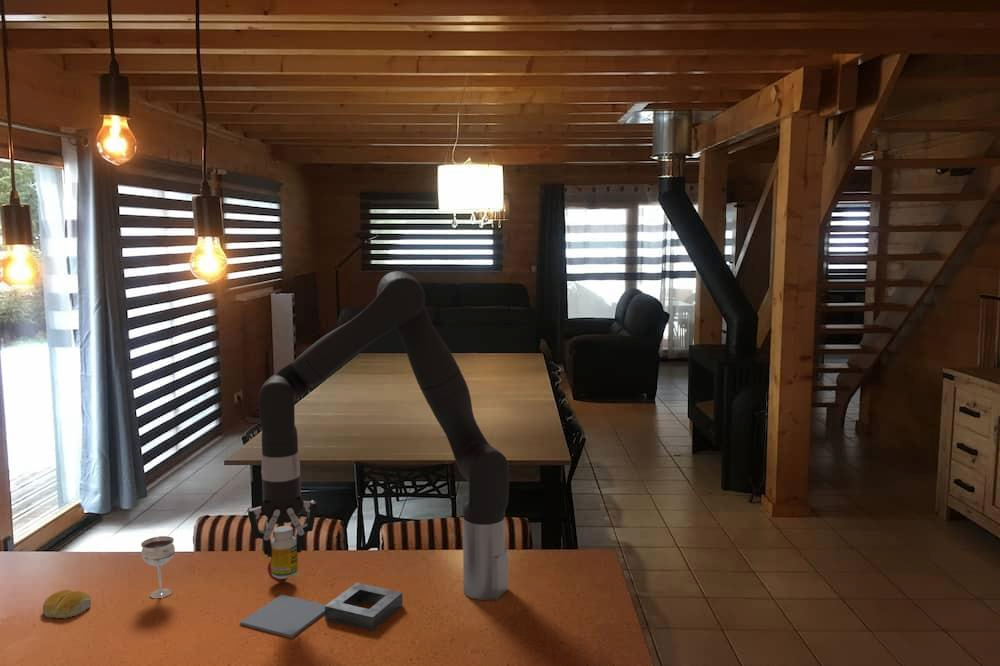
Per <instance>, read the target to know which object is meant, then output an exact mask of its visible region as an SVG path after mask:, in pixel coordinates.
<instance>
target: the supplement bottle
mask: <svg viewBox="0 0 1000 666" xmlns="http://www.w3.org/2000/svg"><path fill="white" fill-rule="evenodd" d="M272 532H273V533H272V537H273V538H272V539H271V557H270V560H271V573H272V575H273V576H274V577H275V578H279V579H284V578H288V579H289V578H292V577H294V576H296V575H297V573H298V571H299V562H298V561H299V557H298V552H297V540H296V536H294V528H293V526H291V525H289V526H288V525H283V526H282V525H281V526H277V527H274V529H273V531H272Z"/></svg>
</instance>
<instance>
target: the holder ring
mask: <svg viewBox="0 0 1000 666" xmlns="http://www.w3.org/2000/svg"><path fill="white" fill-rule="evenodd" d="M360 602H361V603H360ZM364 603H365V604H364ZM359 604H364V605H370V606H371V607H370V608H366V607H360V606H358V605H359ZM324 605H325V613H324V614H325V615H324V616H325V617H324V618H325V619H324V620H325V621H329V622H335V623H337V624H342V625H346V626H348V627H349V626H350V627H353V626H354V627H355V628H358V629H362V630H366V629H367V630H366V631H370V630H371V631H370V632H374V631H375V630H376V629H377V628H378V627H379V626H381V625H382V624H383V623H384V622H385V621H387V620H388V619H389V618H391V616H392V615H394V614H395V613H396V612H397V611H398V610H399V609H400V608H402V607H403V592H401V591H397V590H393V589H388V588H383V587H381V586H380V587H379V586H374V585H371V584H370V585H369V584H366V583H365V584H364V583H361V582H355V583H354V584H353V585H351V586H350V587H349V588H347V589H346V590H345V591H343V592H341V593H340V594H339V595H338V596H336V597H335V598H334V599H332V600H331V601H330V602H328V603H327V604H324ZM394 612H395V613H394ZM387 618H388V619H387ZM386 619H387V620H386Z"/></svg>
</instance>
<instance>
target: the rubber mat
mask: <svg viewBox="0 0 1000 666" xmlns="http://www.w3.org/2000/svg"><path fill="white" fill-rule="evenodd" d="M325 605H326V604H323V603H319V602H315V601H311V600H306V599H303V598H299V597H298V598H297V597H293V596H290V595H285V594H280V595H278V596H277V597H276V598H274V599H273V600H270V601H269V602H268V603H266V604H265V605H263V606H262V607H261V608H258V610H256V611H255V612H253V613H251V614H250V615H248V616H247V617H245V618H244V619H242V620H241V621H239V625H240V626H244V627H247V628H251V629H256V630H259V631H262V632H266V633H270V634H274V635H278V636H283V637H285V638H289V639H293V638H294V637H295V636H297V635H298V634H299V633H301V632H302V631H303V630H305V629H306V628H307V627H309V626H310V625H311V624H313V623H314V622H316V621H317V620H318V619H319V618H321V617H322V616H323V615H324V614H325Z"/></svg>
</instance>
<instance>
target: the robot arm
mask: <svg viewBox="0 0 1000 666" xmlns="http://www.w3.org/2000/svg"><path fill="white" fill-rule="evenodd" d="M425 301H426V295H425V291H424V288H423V286H422V285H421V283H419V281H418V279H416V278H415V277H414V276H413V275H411V274H409V273H408V272H405V271H399V270H398V271H391V272H389V273H387V274H385V275H384V276H383V277H382V278H381V280H379V283H378V285H377V289H376V297H375V298H374V299H373V300H372V301H371V302H370V303H369V304H368V305H367V306H366V308H364V309H363V310H362V311H360V313H358V314H357V315H356V316H354V317H353V318H352V319H350V320H348V321H347V322H345V323H344V324H342V325H340V326H338V327H336V328H335V329H333V330H332V331H330V332H328V333H326V334H325V335H324V336H322V337H320V339H318V340H317V341H315V342H314V343H313V344H311V345H310V346H309V347H307V348H306V349H305V350H304V351H303V352H302V353H300V354H299V355H298V356H297V357H296V358H295V359H294V360H292V361H291V362H290V363H289V364H287V365H285V366H284V367H283V368H281V369H280V370H278V371H276V372H275V373H274V374H273V375H271V376H270V377H269V378H268V379H267V380H266V381H265V382H264V383H263V384H262V386H261V387H260V389H259V391H258V396H257V409H258V416H259V421H260V427H261V457H262V458H261V471H260V474H261V483H262V484H261V485H262V486H261V488H262V502H261V504H260V506H257V507H251V506H250V507H248V508H247V516H248V520H249V522H250V527H251V530H252V534H253V537H254V539H256V540H257V539H261V540H262V550H263V553H264V555H265V556H266V555H267V556H266V557H267V558H271V541H272V539H271V535H272V534H273V533H272V532H273V530H274V529H275V528H276V527H275V526H276V525H280V524H283V523H286V524H290V523H292V524H293V526H294V528H295V530H296V532H295V538H296V540H297V554H300V553H302V550H304V548H305V534H306V533H307V532H312V531H313V530H314V525H315V520H316V514H317V508H318V505H317V502H316V501H315V500H314V499H311V500H304V499H303V498H302V489H301V488H302V485H301V484H302V483H301V462H300V457H299V443H298V437H299V436H298V429H297V427H296V426H295V425H296V424H295V405H296V404H295V403H296V401H297V400H298V399H299V398H300V397H302V396H303V395H304V394H305V393H306V392H308V391H309V390H310V389H312V387H316V386H318V385H320V384H321V383H323V382H324V381H325V380H326V379H327V378H329V377H331V375H333V374H334V373H335V372H337V371H338V370H339V369H340V368H341V367H343V366H344V365H345V364H346V363H347V362H349V361H350V360H351V359H352V358H354V357H355V356H356V355H358V354H359V353H360V352H362V351H363V350H364V349H366V347H368V346H369V345H370V344H372V343H373V342H375V341H376V340H378V339H379V338H381V337H383V336H384V335H386V334H387V333H389V332H391V331H392V330H394V329H395V330H396V332H397V333H398V335H399V338H400V339H401V342H402V344H403V347H404V349H405V352H406V356H407V358H408V361H409V364H410V367H411V369H412V372H413V375H414V377H415V379H416V382H417V384H418V387H419V388H420V390H421V392H422V395H423V396H424V398H425V401H426V402H427V404H428V406H429V408H430V410H431V411H432V413H433V415H434V417H435V419H436V420H437V423H438V424H439V425H440V427H441V429H442V430H443V432H444V434H445V436H446V438H447V441H448V443H449V446H450V448H451V451H452V455H453V457H454V460H455V462H456V466H457V468H458V471H459V473H460V474H461V477H463V478H464V479H465V480H466V481H467V482H468V486H469V489H468V501H466V502H465V503H464V504H463V506H462V507H463V508H462V517H463V518H462V540H463V541H462V542H463V543H462V545H463V546H462V547H463V548H462V556H463V557H462V559H463V561H462V563H463V565H462V566H463V568H462V569H463V572H462V573H463V576H462V577H463V578H462V579H463V581H462V584H463V593H464V595H465V596H467V597H469V598H471V599H474V600H480V601H486V600H487V601H489V600H495V601H498V600H499V599H500V598H501V597H502V596H503V595H504V594H505V592H506V591H507V590H508V589H509V549H508V547H506V545H505V544H506V543H505V542H506V541H505V540H506V539H505V537H506V536H505V535H506V534H505V533H506V530H505V529H506V527H505V526H506V525H505V524H506V523H505V521H506V509H507V507H508V505H509V504H508V503H509V497H510V496H509V494H510V493H509V492H510V466H509V462H508V459H507V457H506V456H505V455H504V454H503V453H502V452H501V451H499V450H498V449H496V448H495V447H493V446H492V445H491V444H490V443H489V442H488V440H487V439H486V438H485V436H484V434H483V432H482V431H481V429H480V427H479V425H478V424H477V421H476V419H475V416H474V411H473V404H472V398H471V394H470V390H469V386H468V385H467V381H466V379H465V378H464V375H463V374H462V371H461V369H460V367H459V365H458V363H457V361H456V359H455V357H454V356H453V354H452V352H451V350H450V349H449V348H448V346H447V345H446V343H445V341H444V340H443V339H442V337H441V336H440V334H439V332H438V331H437V329H436V328H435V326H434V323H433V322H432V320H431V317H430V315H429V311H428V310H427V307H426V304H425V303H426V302H425ZM303 507H304V509H305V511H306V513H307V515H306V521H305V523H304V524H301V522H300V519H299V517H298V515H299V513H300V512H301V510H302V509H303ZM261 513H263V515H264V516H265V517H266V521H265V526H264V527H263V528H264V529H263V530H262V529H259V524H258V521H257V520H258V519H259V518H260V515H261Z"/></svg>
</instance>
